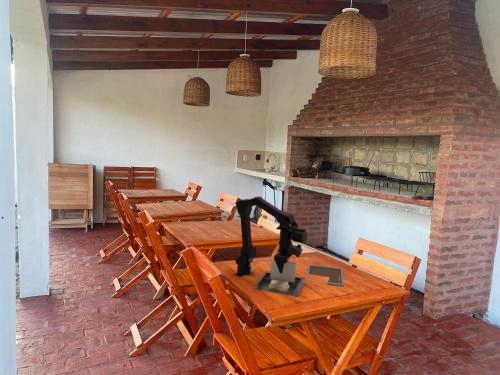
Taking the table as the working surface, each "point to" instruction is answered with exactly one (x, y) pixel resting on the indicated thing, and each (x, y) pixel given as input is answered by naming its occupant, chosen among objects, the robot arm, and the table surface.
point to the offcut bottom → (279, 288)
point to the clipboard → (327, 274)
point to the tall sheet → (287, 272)
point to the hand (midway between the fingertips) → (283, 270)
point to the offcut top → (279, 283)
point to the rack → (266, 280)
